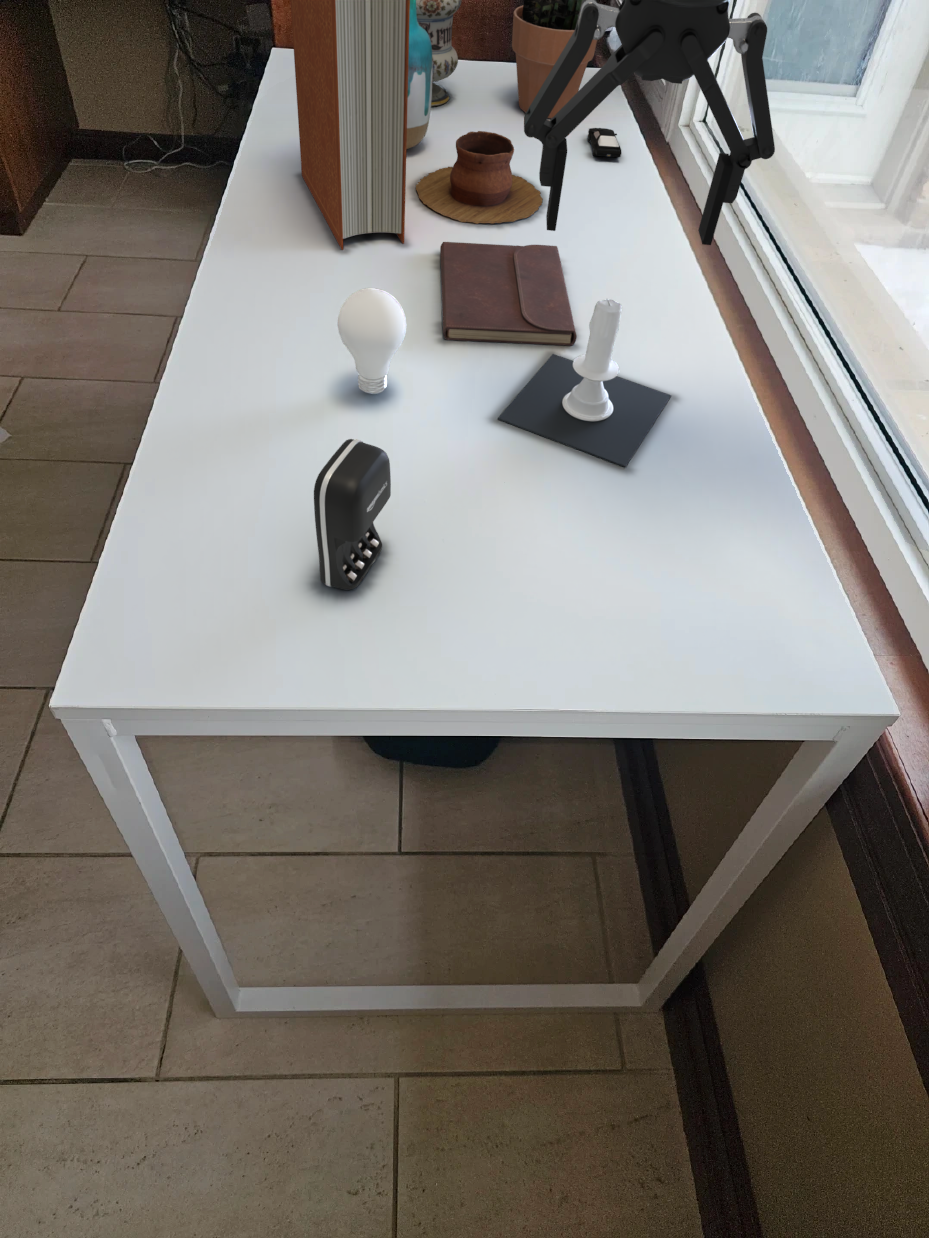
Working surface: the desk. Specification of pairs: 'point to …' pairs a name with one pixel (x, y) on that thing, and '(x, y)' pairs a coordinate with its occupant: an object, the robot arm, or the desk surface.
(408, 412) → the desk surface
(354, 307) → the light bulb
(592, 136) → the toy car
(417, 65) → the vase
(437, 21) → the apothecary jar
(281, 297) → the desk surface
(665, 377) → the desk surface
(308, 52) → the book
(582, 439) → the mat
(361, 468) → the battery charger
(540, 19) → the potted plant
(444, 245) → the notebook
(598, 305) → the candle
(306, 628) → the desk surface
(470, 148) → the ceramic pot
